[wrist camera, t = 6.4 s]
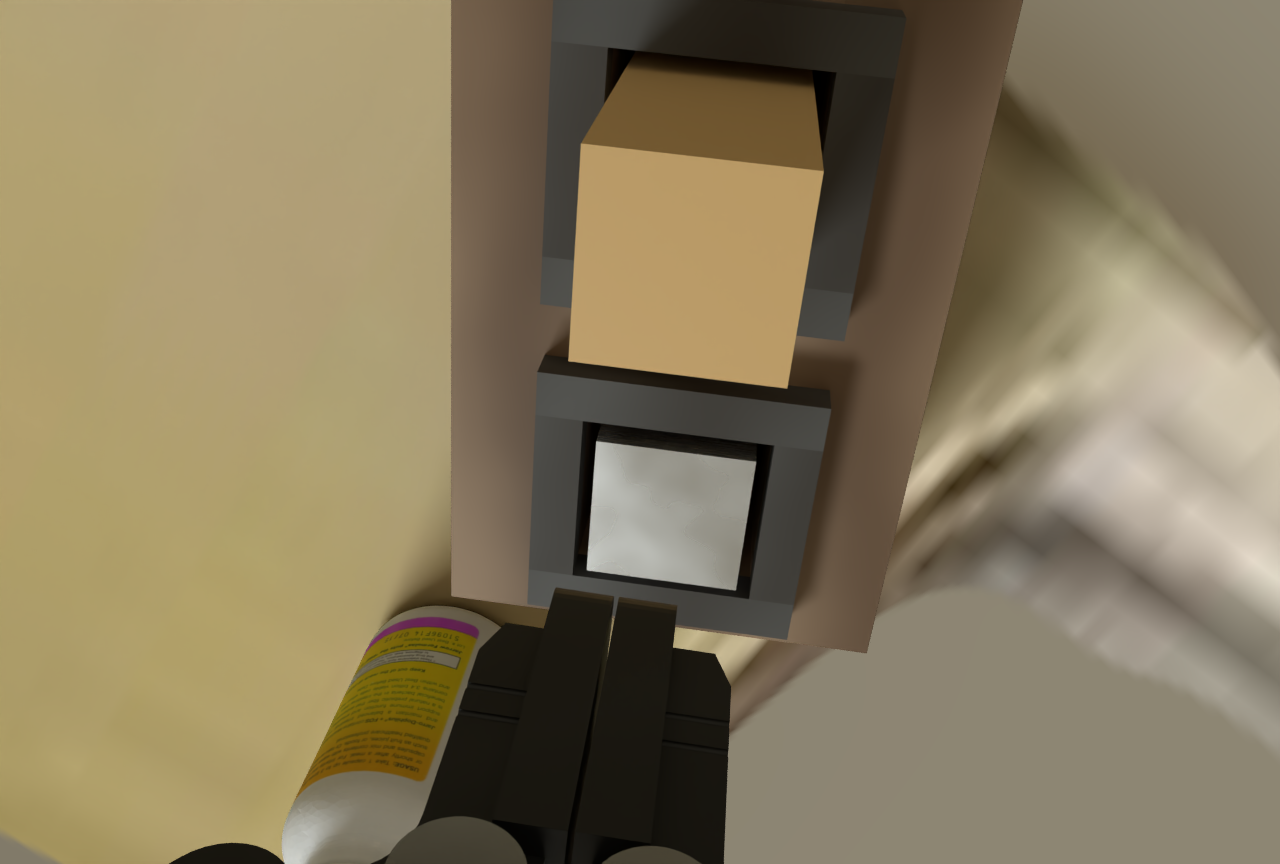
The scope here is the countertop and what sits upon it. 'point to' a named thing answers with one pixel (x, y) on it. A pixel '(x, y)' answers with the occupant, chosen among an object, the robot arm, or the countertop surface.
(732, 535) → the grey metal peg
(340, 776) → the supplement bottle
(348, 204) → the countertop surface
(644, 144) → the ochre peg
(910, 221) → the walnut block
